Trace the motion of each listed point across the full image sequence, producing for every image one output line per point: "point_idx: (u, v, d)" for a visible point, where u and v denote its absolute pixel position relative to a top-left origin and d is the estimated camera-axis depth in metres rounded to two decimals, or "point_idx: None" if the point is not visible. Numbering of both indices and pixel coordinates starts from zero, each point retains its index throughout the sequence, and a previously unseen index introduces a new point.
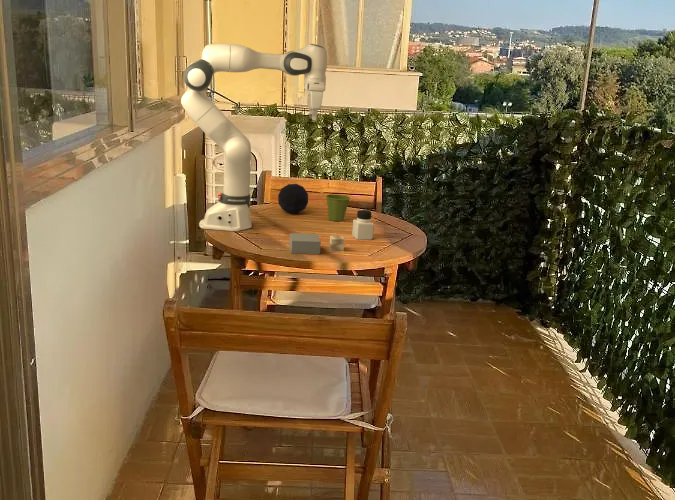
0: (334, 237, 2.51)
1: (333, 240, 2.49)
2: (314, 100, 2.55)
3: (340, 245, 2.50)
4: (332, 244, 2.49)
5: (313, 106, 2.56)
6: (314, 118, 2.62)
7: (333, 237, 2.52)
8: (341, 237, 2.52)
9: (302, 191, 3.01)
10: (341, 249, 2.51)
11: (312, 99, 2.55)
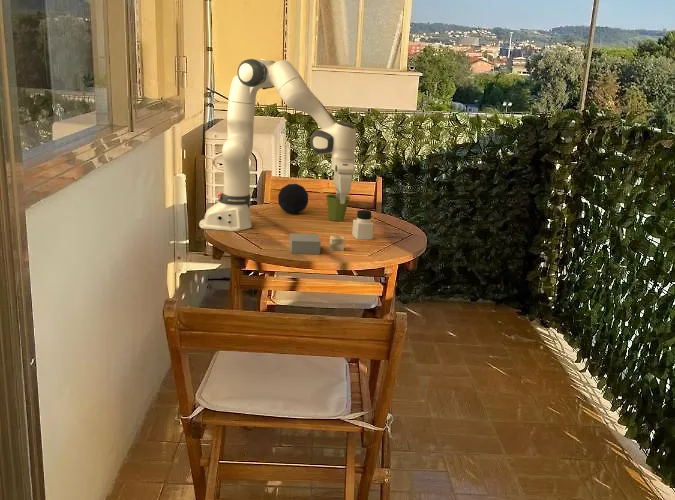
0: (335, 237, 2.51)
1: (333, 240, 2.49)
2: (342, 184, 2.35)
3: (340, 245, 2.50)
4: (332, 244, 2.49)
5: (342, 190, 2.36)
6: (342, 201, 2.42)
7: (333, 237, 2.52)
8: (341, 237, 2.52)
9: (302, 191, 3.01)
10: (341, 249, 2.51)
11: (341, 183, 2.35)
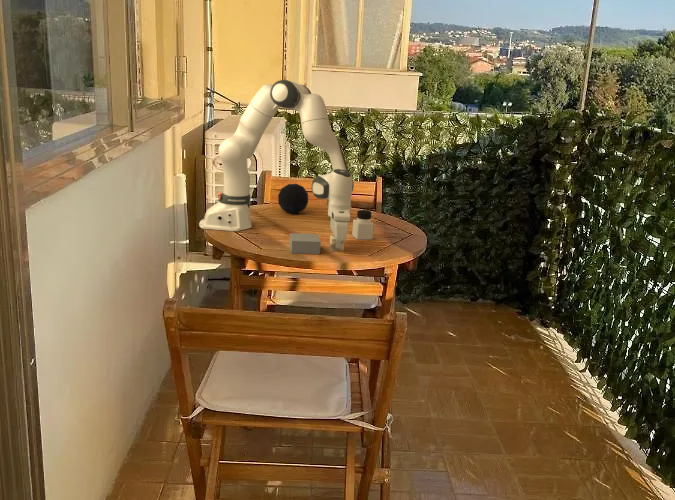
0: None
1: (333, 240, 2.49)
2: (339, 231, 2.41)
3: (340, 245, 2.50)
4: (332, 244, 2.49)
5: (338, 237, 2.41)
6: (338, 246, 2.48)
7: (333, 236, 2.52)
8: None
9: (302, 191, 3.01)
10: (341, 249, 2.51)
11: (337, 230, 2.40)
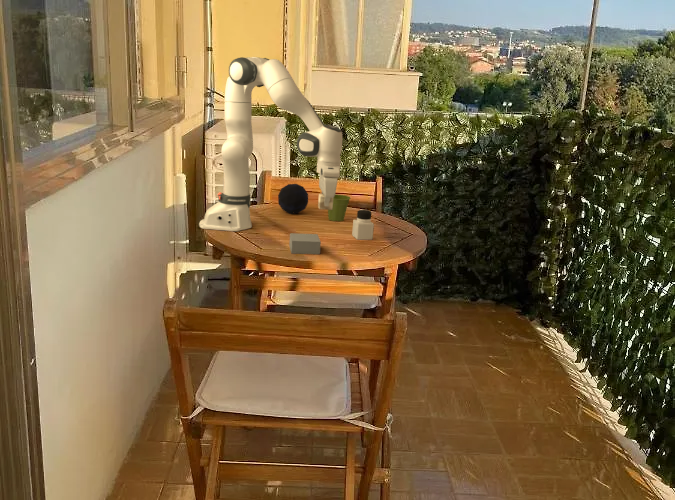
0: (323, 195, 2.45)
1: (322, 198, 2.43)
2: (327, 188, 2.35)
3: (329, 203, 2.44)
4: (321, 202, 2.43)
5: (327, 194, 2.35)
6: (326, 204, 2.42)
7: (322, 194, 2.46)
8: None
9: (302, 191, 3.01)
10: (330, 207, 2.44)
11: (326, 186, 2.34)
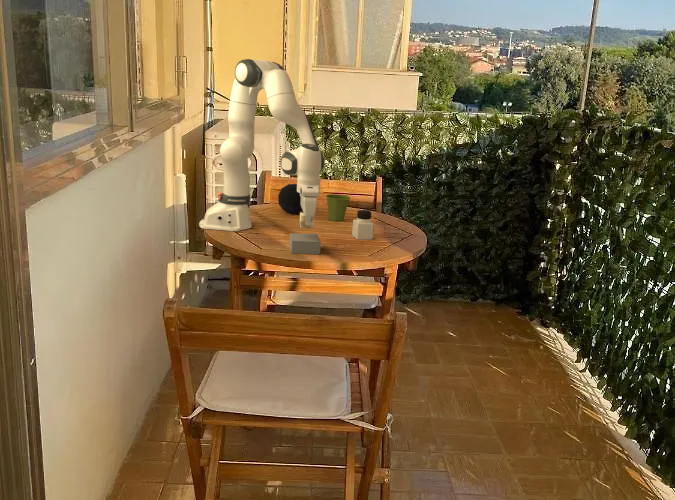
0: (304, 214, 2.45)
1: (303, 217, 2.42)
2: (307, 207, 2.34)
3: (310, 222, 2.43)
4: (302, 221, 2.43)
5: (306, 213, 2.35)
6: (307, 223, 2.42)
7: (303, 213, 2.45)
8: None
9: None
10: (311, 226, 2.44)
11: (305, 206, 2.34)
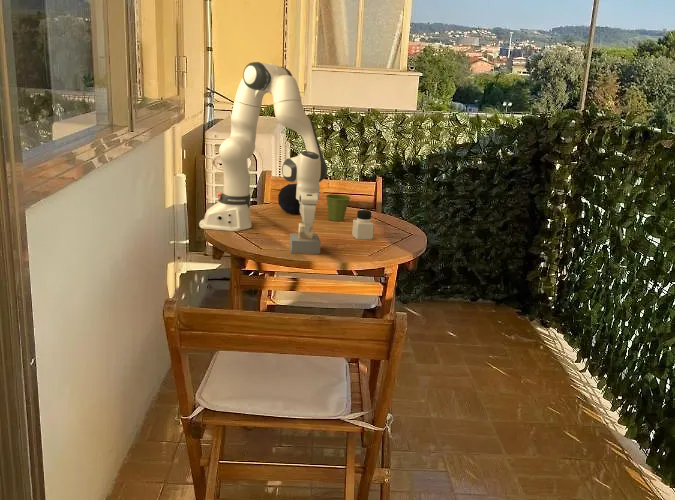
0: (303, 224, 2.46)
1: (301, 227, 2.44)
2: (306, 215, 2.35)
3: (308, 233, 2.45)
4: (300, 232, 2.44)
5: (305, 221, 2.35)
6: (307, 231, 2.41)
7: (301, 224, 2.46)
8: (310, 225, 2.47)
9: None
10: (310, 237, 2.45)
11: (304, 213, 2.35)
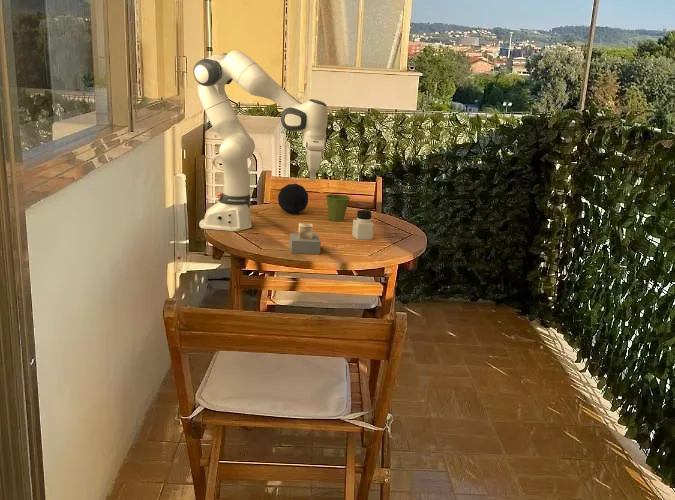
0: (303, 224, 2.46)
1: (301, 227, 2.44)
2: (312, 161, 2.39)
3: (308, 233, 2.45)
4: (300, 232, 2.44)
5: (311, 166, 2.40)
6: (312, 178, 2.45)
7: (301, 224, 2.46)
8: (310, 225, 2.47)
9: (302, 191, 3.01)
10: (310, 237, 2.45)
11: (310, 159, 2.39)
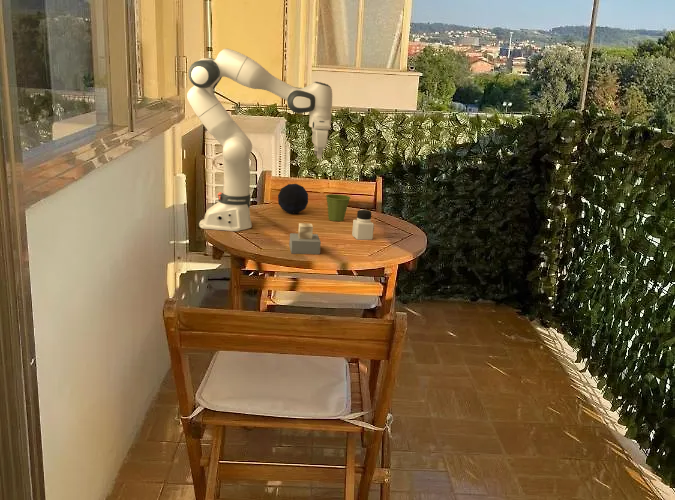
0: (303, 224, 2.46)
1: (301, 227, 2.44)
2: (319, 139, 2.52)
3: (308, 233, 2.45)
4: (300, 232, 2.44)
5: (318, 145, 2.53)
6: (319, 156, 2.59)
7: (301, 224, 2.46)
8: (310, 225, 2.47)
9: (302, 191, 3.01)
10: (310, 237, 2.45)
11: (317, 138, 2.52)
